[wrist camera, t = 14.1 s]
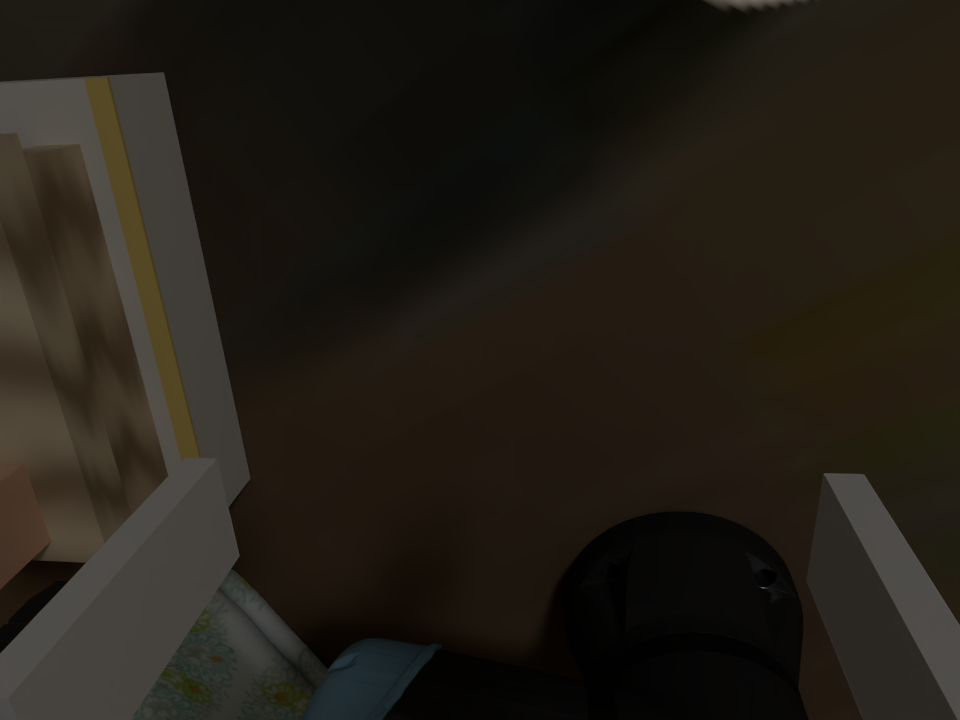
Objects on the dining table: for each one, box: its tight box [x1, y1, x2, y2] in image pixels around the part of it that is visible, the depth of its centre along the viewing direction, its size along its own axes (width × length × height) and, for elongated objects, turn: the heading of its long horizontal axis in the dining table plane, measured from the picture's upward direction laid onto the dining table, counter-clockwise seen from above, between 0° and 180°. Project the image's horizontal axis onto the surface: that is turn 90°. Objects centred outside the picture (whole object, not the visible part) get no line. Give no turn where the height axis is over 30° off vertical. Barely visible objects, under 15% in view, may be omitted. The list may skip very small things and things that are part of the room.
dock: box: [0, 72, 250, 507], centre depth 43 cm, size 26×16×5 cm, turn 3°
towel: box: [131, 569, 328, 720], centre depth 57 cm, size 18×21×5 cm
